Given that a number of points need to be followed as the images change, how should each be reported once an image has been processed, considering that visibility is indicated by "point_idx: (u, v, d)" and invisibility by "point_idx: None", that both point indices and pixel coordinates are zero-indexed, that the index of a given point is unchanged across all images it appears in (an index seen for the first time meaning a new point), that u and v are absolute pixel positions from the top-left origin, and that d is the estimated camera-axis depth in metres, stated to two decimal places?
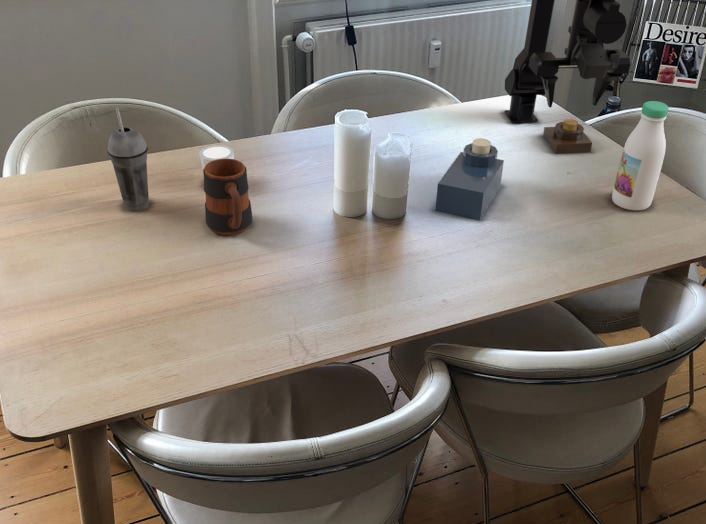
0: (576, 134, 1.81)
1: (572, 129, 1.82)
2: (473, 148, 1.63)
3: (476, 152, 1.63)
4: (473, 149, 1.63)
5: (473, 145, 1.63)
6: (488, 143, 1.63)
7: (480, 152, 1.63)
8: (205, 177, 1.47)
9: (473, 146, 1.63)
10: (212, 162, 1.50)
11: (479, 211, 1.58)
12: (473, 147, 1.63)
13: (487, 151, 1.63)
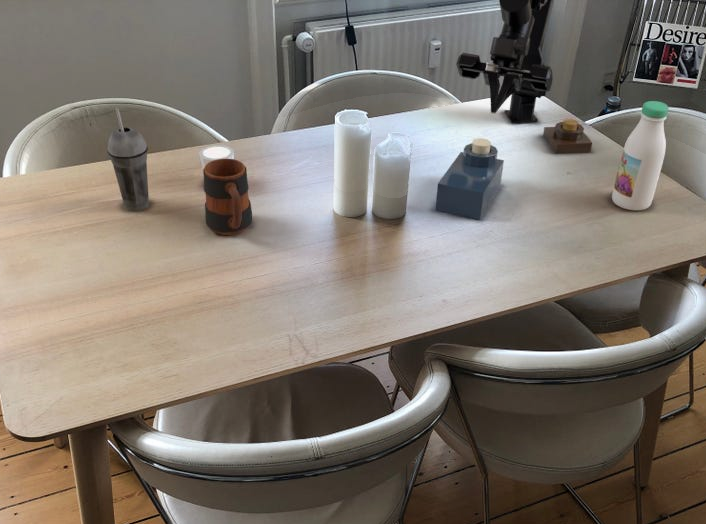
0: (576, 134, 1.81)
1: (572, 129, 1.82)
2: (473, 148, 1.63)
3: (476, 152, 1.63)
4: (473, 149, 1.63)
5: (473, 145, 1.63)
6: (488, 143, 1.63)
7: (480, 152, 1.63)
8: (205, 177, 1.47)
9: (473, 146, 1.63)
10: (212, 162, 1.50)
11: (479, 211, 1.58)
12: (473, 147, 1.63)
13: (487, 151, 1.63)
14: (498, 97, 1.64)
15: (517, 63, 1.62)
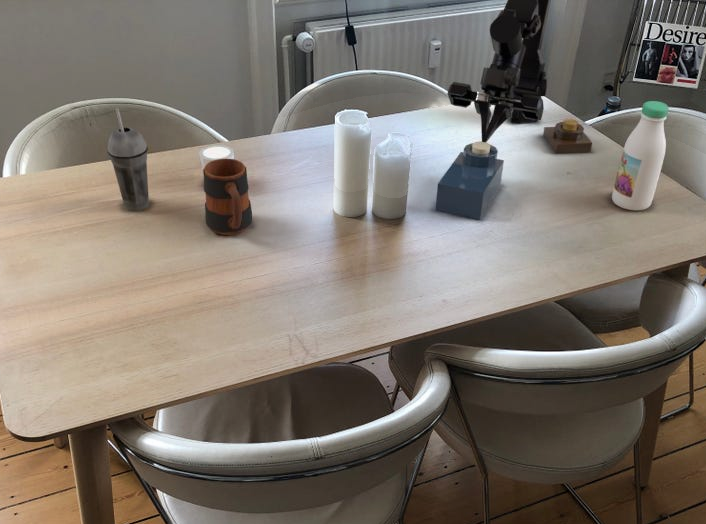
0: (576, 134, 1.81)
1: (572, 129, 1.82)
2: (472, 151, 1.64)
3: None
4: (473, 152, 1.64)
5: (473, 148, 1.64)
6: (488, 146, 1.63)
7: None
8: (205, 177, 1.47)
9: (473, 149, 1.64)
10: (212, 162, 1.50)
11: (479, 211, 1.58)
12: (473, 150, 1.64)
13: None
14: (489, 126, 1.64)
15: (508, 93, 1.62)
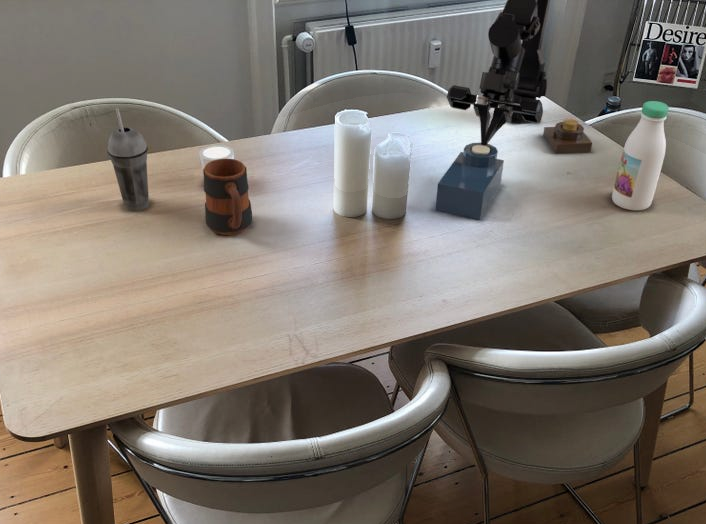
0: (576, 134, 1.81)
1: (572, 129, 1.82)
2: None
3: None
4: None
5: None
6: (487, 150, 1.64)
7: None
8: (205, 177, 1.47)
9: None
10: (212, 162, 1.50)
11: (479, 211, 1.58)
12: None
13: None
14: (488, 130, 1.64)
15: (507, 96, 1.62)
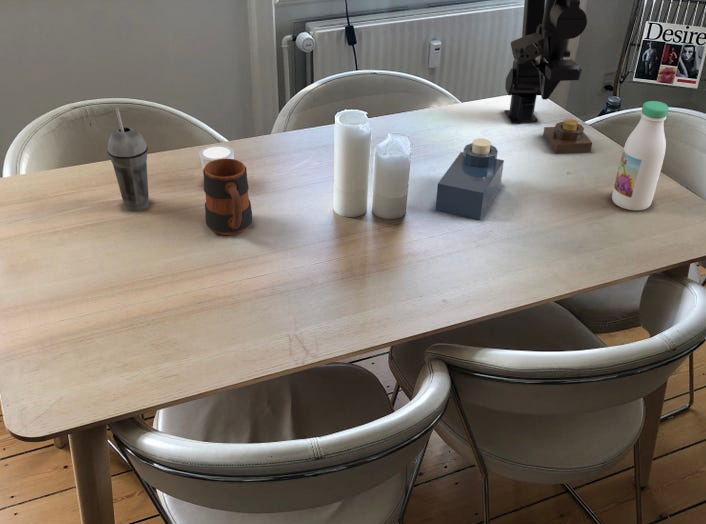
0: (576, 134, 1.81)
1: (572, 129, 1.82)
2: (473, 148, 1.63)
3: (476, 152, 1.63)
4: (473, 149, 1.63)
5: (473, 145, 1.63)
6: (488, 143, 1.63)
7: (480, 152, 1.63)
8: (205, 177, 1.47)
9: (473, 146, 1.63)
10: (212, 162, 1.50)
11: (479, 211, 1.58)
12: (473, 147, 1.63)
13: (487, 151, 1.63)
14: (542, 86, 1.72)
15: None
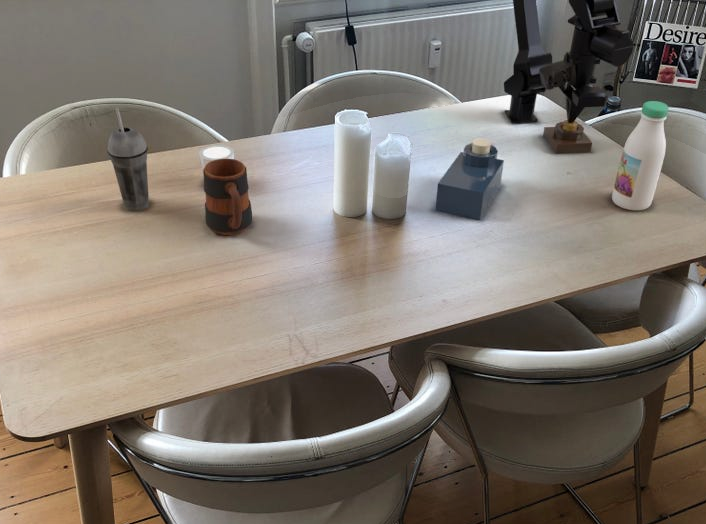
0: (576, 134, 1.81)
1: (572, 130, 1.82)
2: (473, 148, 1.63)
3: (476, 152, 1.63)
4: (473, 149, 1.63)
5: (473, 145, 1.63)
6: (488, 143, 1.63)
7: (480, 152, 1.63)
8: (205, 177, 1.47)
9: (473, 146, 1.63)
10: (212, 162, 1.50)
11: (479, 211, 1.58)
12: (473, 147, 1.63)
13: (487, 151, 1.63)
14: (568, 111, 1.80)
15: None
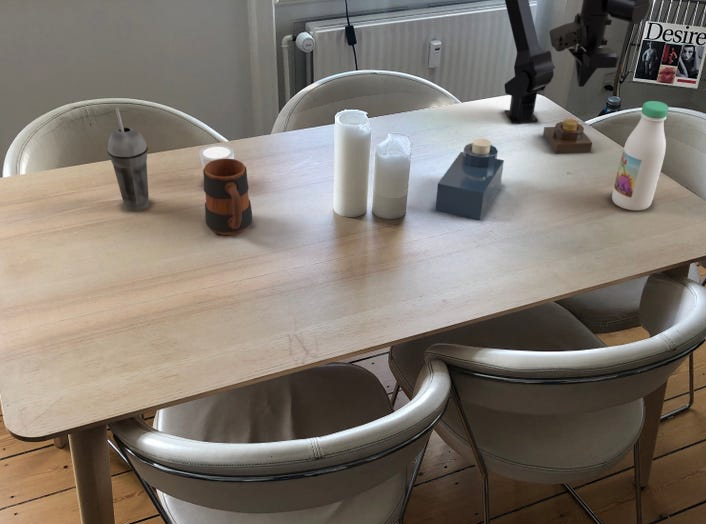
0: (576, 134, 1.81)
1: (572, 129, 1.82)
2: (473, 148, 1.63)
3: (476, 152, 1.63)
4: (473, 149, 1.63)
5: (473, 145, 1.63)
6: (488, 143, 1.63)
7: (480, 152, 1.63)
8: (205, 177, 1.47)
9: (473, 146, 1.63)
10: (212, 162, 1.50)
11: (479, 211, 1.58)
12: (473, 147, 1.63)
13: (487, 151, 1.63)
14: (579, 74, 1.78)
15: None
